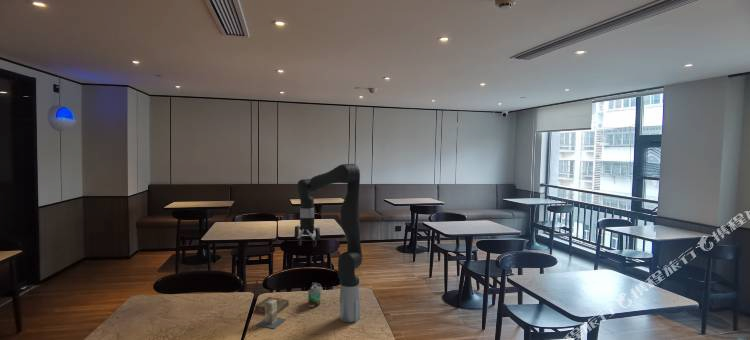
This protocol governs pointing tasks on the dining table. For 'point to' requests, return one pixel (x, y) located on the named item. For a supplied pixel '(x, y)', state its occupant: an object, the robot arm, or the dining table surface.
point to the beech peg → (270, 311)
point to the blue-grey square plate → (272, 326)
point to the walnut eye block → (280, 304)
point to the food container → (314, 295)
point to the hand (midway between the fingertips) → (307, 246)
